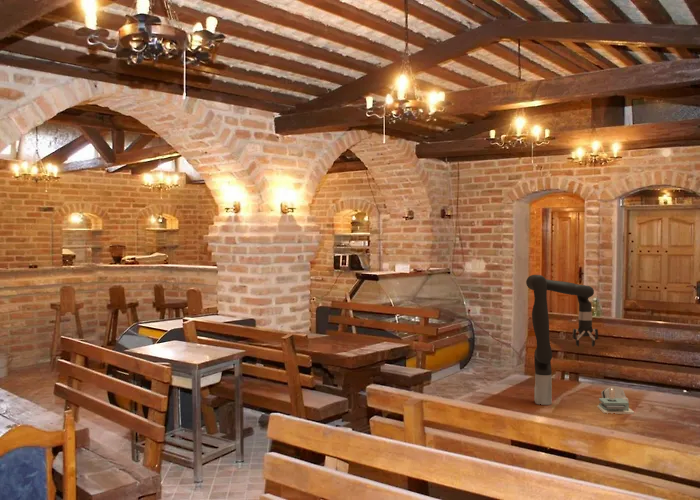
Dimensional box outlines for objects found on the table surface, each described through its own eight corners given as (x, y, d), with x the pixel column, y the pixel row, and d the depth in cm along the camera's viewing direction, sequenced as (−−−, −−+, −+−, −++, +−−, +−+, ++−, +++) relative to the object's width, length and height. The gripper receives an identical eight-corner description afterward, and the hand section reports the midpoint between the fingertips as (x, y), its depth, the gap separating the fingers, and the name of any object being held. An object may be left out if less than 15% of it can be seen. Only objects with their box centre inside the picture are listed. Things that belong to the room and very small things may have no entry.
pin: (610, 408, 356) (610, 389, 355) (608, 407, 359) (608, 387, 358) (615, 408, 355) (615, 389, 355) (613, 407, 358) (613, 387, 358)
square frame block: (604, 413, 350) (604, 404, 349) (597, 407, 363) (597, 398, 362) (634, 413, 348) (634, 404, 348) (626, 407, 361) (626, 398, 361)
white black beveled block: (610, 405, 366) (605, 388, 368) (603, 406, 370) (598, 389, 372) (629, 401, 374) (624, 384, 376) (622, 402, 378) (618, 385, 380)
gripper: (574, 319, 373) (574, 347, 374) (599, 319, 372) (599, 347, 373) (571, 318, 381) (571, 345, 381) (595, 318, 380) (595, 345, 380)
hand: (585, 346), depth 377 cm, fingers open, 8 cm apart
